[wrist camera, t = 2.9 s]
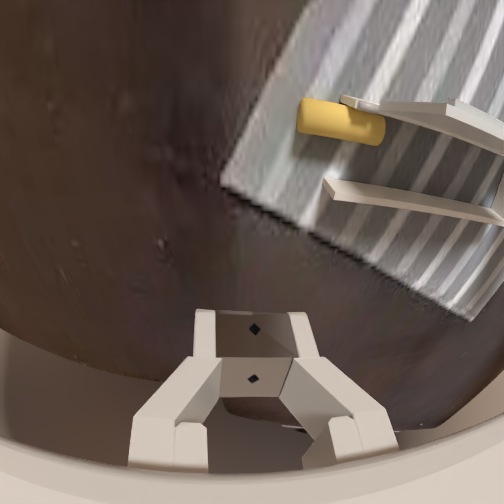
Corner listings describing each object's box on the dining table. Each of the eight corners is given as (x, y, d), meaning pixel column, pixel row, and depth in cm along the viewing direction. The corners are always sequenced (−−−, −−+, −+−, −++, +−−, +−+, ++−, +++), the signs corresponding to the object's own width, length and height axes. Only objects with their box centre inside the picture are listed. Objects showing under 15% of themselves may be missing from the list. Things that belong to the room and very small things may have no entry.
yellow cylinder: (370, 150, 27) (368, 120, 27) (386, 139, 24) (384, 108, 24) (296, 137, 26) (296, 106, 26) (307, 124, 23) (307, 91, 23)
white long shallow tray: (513, 152, 28) (534, 165, 25) (491, 214, 33) (510, 230, 29) (341, 93, 25) (359, 100, 21) (322, 184, 29) (335, 203, 26)
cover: (520, 162, 25) (522, 151, 24) (576, 182, 17) (578, 169, 17) (379, 110, 22) (381, 94, 21) (445, 114, 14) (447, 93, 14)
